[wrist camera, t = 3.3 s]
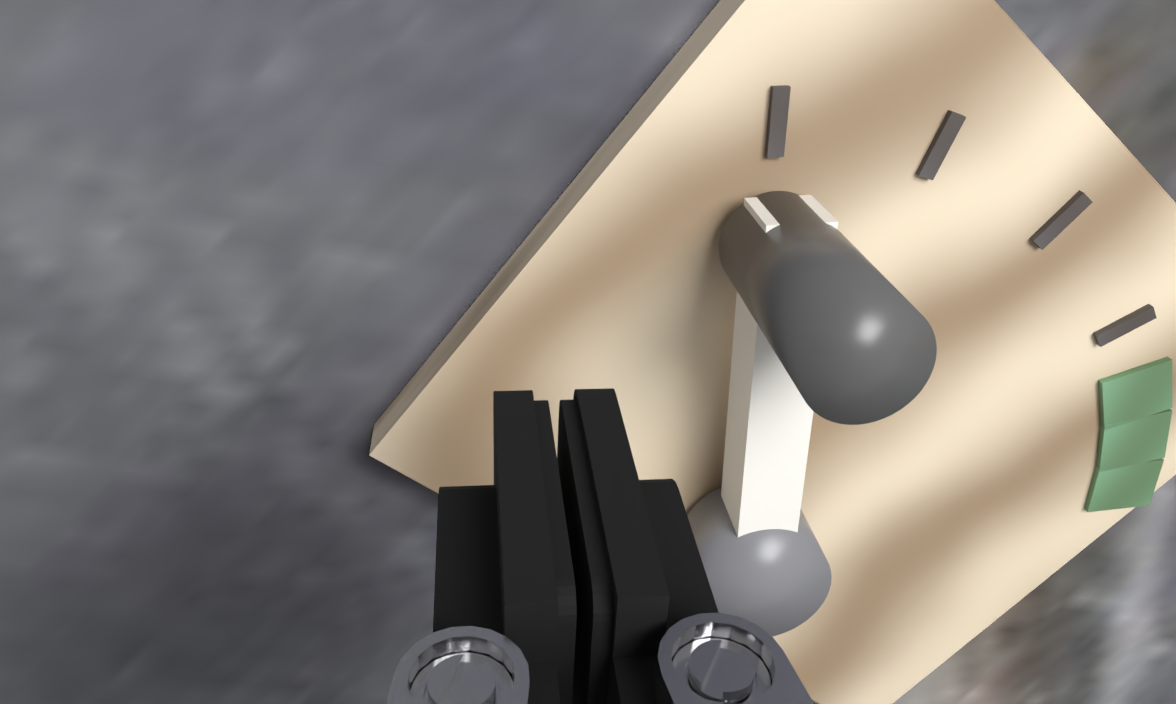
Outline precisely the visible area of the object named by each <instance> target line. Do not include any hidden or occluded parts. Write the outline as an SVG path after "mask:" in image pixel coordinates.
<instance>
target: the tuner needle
mask: <svg viewBox="0 0 1176 704" xmlns="http://www.w3.org/2000/svg"><path fill="white" fill-rule="evenodd" d="M719 257H720V261H721V265H722V267H723V269H724V271H725V272H726V274H727V276H728V277H729V279H730V281H731V282H732V284H733V285H734V287H735V289H736V290H737V296H736V308H735V321H734V334H733V347H732V360H731V373H730V385H729V398H728V411H727V424H726V437H725V450H724V462H723V475H722V487H721V488H718V489H716V490H714V491H713V492H711V493H709V494H708V495H706V496H705V497H704V498H702V499H701V500H700V501H699V502H698V503H697V504H696V505H695V506H694V507H693V508H692V510H691V511H690V512H689V514H688V519H689V522H690V525H691V528H692V532H693V535H694V538H695V541H696V544H697V547H698V550H699V553H700V556H701V559H702V562H703V566H704V569H705V572H706V575H707V578H708V581H709V584H710V587H711V590H712V593H713V596H714V600H715V603H716V606H717V609H718V612H719V613H723V614H729V615H734V616H738V617H741V618H743V619H745V620H748V621H750V622H752V623H755V624H757V625H758V626H759V627H761V628H762V629H763V630H765V631H766V632H767V633H769V634H770V635H771V636H777V635H780V634H783V633H785V632H788V631H790V630H792V629H794V628H796V627H798V626H799V625H801V624H802V623H804V622H805V621H807V620H808V619H809V618H810V617H811V616H813V615H814V614H815V613H816V612H817V610H818V609H819V608H820V607H821V605H822V604H823V603H824V601H825V599H826V597H827V595H828V593H829V590H830V586H831V578H832V576H831V569H830V565H829V563H828V561H827V559H826V557H825V555H824V553H823V551H822V549H821V547H820V545H819V543H818V541H817V539H816V537H815V535H814V533H813V531H812V530H811V528H810V526H809V524H808V522H807V520H806V518H805V516H804V514H803V512H802V510H801V502H802V495H803V487H804V480H805V472H806V464H807V457H808V449H809V442H810V434H811V426H812V419H813V411H814V412H815V413H816V414H818V415H819V416H821V417H822V418H824V419H826V420H829V421H831V422H835V423H839V424H846V425H860V424H867V423H871V422H876V421H878V420H881V419H884V418H886V417H888V416H890V415H893V414H894V413H896V412H898V411H899V410H901V409H902V408H904V407H905V406H906V405H908V404H909V403H910V402H911V401H912V400H913V399H914V398H915V397H916V396H917V395H918V394H919V393H920V392H921V390H922V389H923V387H924V386H925V385H926V383H927V381H928V380H929V378H930V376H931V373H932V371H933V369H934V365H935V361H936V354H937V344H936V338H935V335H934V332H933V329H932V327H931V325H930V324H929V322H928V321H927V320H926V318H925V317H924V316H923V315H922V314H921V313H920V312H919V311H918V310H917V309H916V308H915V307H914V306H913V305H912V304H911V303H910V302H909V301H908V300H907V299H906V298H905V297H904V296H903V295H902V294H901V293H900V292H899V291H898V290H897V289H896V288H895V287H894V286H893V285H892V284H891V283H890V282H889V281H888V280H887V279H886V278H885V277H884V276H883V275H882V274H881V273H880V272H879V271H878V270H877V269H876V268H875V267H874V266H873V265H872V263H871V262H870V261H869V260H868V259H867V258H866V257H865V256H864V255H863V254H862V253H861V252H860V251H859V250H858V249H857V248H856V247H855V246H854V245H853V244H852V243H851V242H850V241H849V240H848V239H847V238H846V237H845V236H844V235H843V234H842V233H841V232H840V231H839V230H838V221H837V220H836V219H835V218H834V217H833V216H832V215H831V214H830V213H829V212H828V211H827V210H826V209H825V208H824V207H823V206H822V205H821V204H820V203H819V202H818V201H817V200H816V199H815V198H814V197H813V196H812V195H798V194H796V193H792V192H788V191H770V192H766V193H762V194H759V195H756V196H754V197H752V198H744V203H743V204H741V205H740V206H739V207H738V208H737V209H736V210H735V211H734V212H733V213H732V214H731V216H730V217H729V218H728V220H727V222H726V223H725V225H724V227H723V230H722V232H721V236H720V240H719Z"/></svg>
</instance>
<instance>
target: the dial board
mask: <svg viewBox="0 0 1176 704" xmlns="http://www.w3.org/2000/svg"><path fill="white" fill-rule="evenodd" d="M770 191H788V192H792V193H796V194H798V195H812V196H813V197H814V198H815V199H816V200H817V201H818V202H819V203H820V204H821V205H822V206H823V207H824V208H825V209H826V210H827V211H828V212H829V213H830V214H831V215H832V216H833V217H834V218H835V219H836V220H837V221H838V230H839V231H840V232H841V233H842V234H843V235H844V236H845V237H846V238H847V239H848V240H849V241H850V242H851V243H852V244H853V245H854V246H855V247H856V248H857V249H858V250H859V251H860V252H861V253H862V254H863V255H864V256H865V257H866V258H867V259H868V260H869V261H870V262H871V263H872V265H873V266H874V267H875V268H876V269H877V270H878V271H879V272H880V273H881V274H882V275H883V276H884V277H885V278H886V279H887V280H888V281H889V282H890V283H891V284H892V285H893V286H894V287H895V288H896V289H897V290H898V291H899V292H900V293H901V294H902V295H903V296H904V297H905V298H906V299H907V300H908V301H909V302H910V303H911V304H912V305H913V306H914V307H915V308H916V309H917V310H918V311H919V312H920V313H921V314H922V315H923V316H924V317H925V318H926V320H927V321H928V322H929V324H930V325H931V327H932V329H933V332H934V335H935V338H936V344H937V354H936V361H935V365H934V369H933V371H932V373H931V376H930V378H929V380H928V381H927V383H926V385H925V386H924V387H923V389H922V390H921V392H920V393H919V394H918V395H917V396H916V397H915V398H914V399H913V400H912V401H911V402H910V403H909V404H908V405H906V406H905V407H904V408H902V409H901V410H899V411H898V412H896V413H894V414H893V415H890V416H888V417H886V418H884V419H881V420H878V421H876V422H871V423H867V424H860V425H846V424H839V423H835V422H831V421H829V420H826V419H824V418H822V417H821V416H819V415H818V414H816V413H815V412H814V411H813V419H812V426H811V434H810V442H809V449H808V457H807V464H806V472H805V480H804V487H803V495H802V502H801V510H802V512H803V514H804V516H805V518H806V520H807V522H808V524H809V526H810V528H811V530H812V531H813V533H814V535H815V537H816V539H817V541H818V543H819V545H820V547H821V549H822V551H823V553H824V555H825V557H826V559H827V561H828V563H829V565H830V569H831V576H832V578H831V586H830V590H829V593H828V595H827V597H826V599H825V601H824V603H823V604H822V605H821V607H820V608H819V609H818V610H817V612H816V613H815V614H814V615H813V616H811V617H810V618H809V619H808V620H807V621H805V622H804V623H802V624H801V625H799V626H798V627H796V628H794V629H792V630H790V631H788V632H785V633H783V634H780V635H777V636H772V637H773V638H774V639H775V640H776V642H777V643H778V644H779V646H780V647H781V648H782V649H783V651H784V652H785V654H786V656H787V658H788V659H789V661H790V663H791V665H792V666H793V668H794V670H795V671H796V673H797V675H798V677H799V678H800V680H801V682H802V683H803V685H804V687H805V689H806V690H807V692H808V694H809V696H810V697H811V699H812V700H814V701H815V702H817V703H819V704H892V703H894V702H895V701H896V700H897V699H899V698H900V697H901V696H902V695H904V694H905V693H906V692H907V691H909V690H910V689H911V688H912V687H913V686H915V685H916V684H917V683H918V682H920V681H921V680H922V679H923V678H925V677H926V676H927V675H928V674H930V673H931V672H932V671H933V670H934V669H936V668H937V667H938V666H939V665H941V664H942V663H943V662H944V661H946V660H947V659H948V658H949V657H951V656H952V655H953V654H954V653H956V652H957V651H958V650H959V649H960V648H962V647H963V646H964V645H965V644H967V643H968V642H969V641H970V640H972V639H973V638H974V637H975V636H977V635H978V634H979V633H980V632H981V631H983V630H984V629H985V628H986V627H988V626H989V625H990V624H991V623H993V622H994V621H995V620H996V619H998V618H999V617H1000V616H1001V615H1002V614H1004V613H1005V612H1006V611H1007V610H1009V609H1010V608H1011V607H1012V606H1014V605H1015V604H1016V603H1017V602H1019V601H1020V600H1021V599H1022V598H1023V597H1025V596H1026V595H1027V594H1028V593H1030V592H1031V591H1032V590H1033V589H1035V588H1036V587H1037V586H1038V585H1040V584H1041V583H1042V582H1043V581H1045V580H1046V579H1047V578H1048V577H1049V576H1051V575H1052V574H1053V573H1054V572H1056V571H1057V570H1058V569H1059V568H1061V567H1062V566H1063V565H1064V564H1066V563H1067V562H1068V561H1069V560H1070V559H1072V558H1073V557H1074V556H1075V555H1077V554H1078V553H1079V552H1080V551H1082V550H1083V549H1084V548H1085V547H1087V546H1088V545H1089V544H1090V543H1091V542H1093V541H1094V540H1095V539H1096V538H1098V537H1099V536H1100V535H1101V534H1103V533H1104V532H1105V531H1106V530H1108V529H1109V528H1110V527H1111V526H1113V525H1114V524H1115V523H1116V522H1117V521H1119V520H1120V519H1121V518H1122V517H1124V516H1125V515H1126V514H1127V513H1129V512H1130V511H1131V510H1132V509H1134V508H1135V507H1139V506H1148V505H1150V502H1151V499H1152V496H1153V493H1154V492H1155V491H1156V490H1157V489H1158V488H1159V487H1161V486H1162V485H1163V484H1164V483H1166V482H1167V481H1168V480H1169V479H1171V478H1172V477H1173V476H1174V475H1176V203H1175V202H1174V201H1173V199H1172V198H1171V197H1170V196H1169V195H1168V194H1167V193H1166V192H1165V190H1164V189H1163V188H1162V187H1161V186H1160V185H1159V184H1158V183H1157V182H1156V180H1155V179H1154V178H1153V177H1152V176H1151V175H1150V174H1149V173H1148V171H1147V170H1146V169H1145V168H1144V167H1143V166H1142V165H1141V164H1140V163H1139V161H1138V160H1137V159H1136V158H1135V157H1134V156H1133V155H1132V154H1131V152H1130V151H1129V150H1128V149H1127V148H1126V147H1125V146H1124V145H1123V144H1122V142H1121V141H1120V140H1119V139H1118V138H1117V137H1116V136H1115V135H1114V133H1113V132H1112V131H1111V130H1110V129H1109V128H1108V127H1107V126H1106V125H1105V123H1104V122H1103V121H1102V120H1101V119H1100V118H1099V117H1098V116H1097V114H1096V113H1095V112H1094V111H1093V110H1092V109H1091V108H1090V107H1089V106H1088V104H1087V103H1086V102H1085V101H1084V100H1083V99H1082V98H1081V97H1080V96H1079V94H1078V93H1077V92H1076V91H1075V90H1074V89H1073V88H1072V87H1071V85H1070V84H1069V83H1068V82H1067V81H1066V80H1065V79H1064V78H1063V77H1062V75H1061V74H1060V73H1059V72H1058V71H1057V70H1056V69H1055V68H1054V66H1053V65H1052V64H1051V63H1050V62H1049V61H1048V60H1047V59H1046V58H1045V56H1044V55H1043V54H1042V53H1041V52H1040V51H1039V50H1038V49H1037V47H1036V46H1035V45H1034V44H1033V43H1032V42H1031V41H1030V40H1029V39H1028V37H1027V36H1026V35H1025V34H1024V33H1023V32H1022V31H1021V30H1020V28H1019V27H1018V26H1017V25H1016V24H1015V23H1014V22H1013V21H1012V20H1011V18H1010V17H1009V16H1008V15H1007V14H1006V13H1005V12H1004V11H1003V9H1002V8H1001V7H1000V6H999V5H998V4H997V3H996V2H995V1H994V0H720V1H719V2H718V4H717V5H716V6H715V7H714V9H713V10H712V11H711V12H710V13H709V15H708V16H707V17H706V18H705V20H704V21H703V22H702V23H701V24H700V26H699V27H698V28H697V29H696V31H695V32H694V33H693V34H692V35H691V37H690V38H689V39H688V40H687V42H686V43H685V44H684V45H683V47H682V48H681V49H680V50H679V51H678V53H677V54H676V55H675V56H674V58H673V59H672V60H671V61H670V62H669V64H668V65H667V66H666V67H665V69H664V70H663V71H662V72H661V73H660V75H659V76H658V77H657V78H656V80H655V81H654V82H653V83H652V84H651V86H650V87H649V88H648V89H647V91H646V92H645V93H644V94H643V96H642V97H641V98H640V99H639V100H638V102H637V103H636V104H635V105H634V107H633V108H632V109H631V110H630V111H629V113H628V114H627V115H626V116H625V118H624V119H623V120H622V121H621V122H620V124H619V125H618V126H617V127H616V129H615V130H614V131H613V132H612V134H611V135H610V136H609V137H608V138H607V140H606V141H605V142H604V143H603V145H602V146H601V147H600V148H599V149H598V151H597V152H596V153H595V154H594V156H593V157H592V158H591V159H590V160H589V162H588V163H587V164H586V165H585V167H584V168H583V169H582V170H581V172H580V173H579V174H578V175H577V176H576V178H575V179H574V180H573V181H572V183H571V184H570V185H569V186H568V187H567V189H566V190H565V191H564V192H563V194H562V195H561V196H560V197H559V198H558V200H557V201H556V202H555V203H554V205H553V206H552V207H551V208H550V209H549V211H548V212H547V213H546V214H545V216H544V217H543V218H542V219H541V221H540V222H539V223H538V224H537V225H536V227H535V228H534V229H533V230H532V232H531V233H530V234H529V235H528V236H527V238H526V239H525V240H524V241H523V243H522V244H521V245H520V246H519V247H518V249H517V250H516V251H515V252H514V254H513V255H512V256H511V257H510V259H509V260H508V261H507V262H506V263H505V265H504V266H503V267H502V268H501V270H500V271H499V272H498V273H497V274H496V276H495V277H494V278H493V279H492V281H491V282H490V283H489V284H488V285H487V287H486V288H485V289H484V290H483V292H482V293H481V294H480V295H479V296H478V298H477V299H476V300H475V301H474V303H473V304H472V305H471V306H470V308H469V309H468V310H467V311H466V312H465V314H464V315H463V316H462V317H461V319H460V320H459V321H458V322H457V323H456V325H455V326H454V327H453V328H452V330H451V331H450V332H449V333H448V334H447V336H446V337H445V338H444V339H443V341H442V342H441V343H440V344H439V346H438V347H437V348H436V349H435V350H434V352H433V353H432V354H431V355H430V357H429V358H428V359H427V360H426V361H425V363H424V364H423V365H422V366H421V368H420V369H419V370H418V371H417V372H416V374H415V375H414V376H413V377H412V379H411V380H410V381H409V382H408V383H407V385H406V386H405V387H404V388H403V390H402V391H401V392H400V393H399V395H398V396H397V397H396V398H395V399H394V401H393V402H392V403H391V404H390V406H389V407H388V408H387V409H386V410H385V412H384V413H383V414H382V415H381V417H380V418H379V419H378V420H377V421H376V423H375V424H374V429H373V435H372V441H371V447H370V453H369V456H371V457H373V458H375V459H377V460H379V461H380V462H382V463H384V464H386V465H388V466H389V467H391V468H393V469H395V470H397V471H398V472H400V473H402V474H404V475H406V476H408V477H409V478H411V479H413V480H415V481H417V482H418V483H420V484H422V485H424V486H426V487H427V488H429V489H431V490H433V491H435V492H437V493H438V494H439V487H449V486H478V485H494V444H493V392H494V391H517V390H532V391H533V396H534V400H548V402H549V408H550V414H551V421H552V428H553V435H554V442H555V449H556V455H557V446H558V420H559V403H560V400H573V396H574V391H575V389H607V388H613V389H614V390H615V392H616V396H617V399H618V403H619V407H620V411H621V414H622V418H623V422H624V425H625V429H626V433H627V437H628V440H629V444H630V448H631V452H632V455H633V459H634V463H635V467H636V470H637V474H638V478H639V480H649V479H673V480H674V481H676V484H677V486H678V488H679V491H680V494H681V498H682V501H683V504H684V507H685V510H686V513H687V516H688V514H689V512H690V511H691V510H692V508H693V507H694V506H695V505H696V504H697V503H698V502H699V501H700V500H701V499H702V498H704V497H705V496H706V495H708V494H709V493H711V492H713V491H714V490H716V489H718V488H721V487H722V475H723V462H724V450H725V437H726V424H727V411H728V398H729V385H730V373H731V360H732V347H733V334H734V321H735V308H736V296H737V290H736V289H735V287H734V285H733V284H732V282H731V281H730V279H729V277H728V276H727V274H726V272H725V271H724V269H723V267H722V265H721V261H720V257H719V240H720V236H721V232H722V230H723V227H724V225H725V223H726V222H727V220H728V218H729V217H730V216H731V214H732V213H733V212H734V211H735V210H736V209H737V208H738V207H739V206H740V205H741V204H743V203H744V198H752V197H754V196H756V195H759V194H762V193H766V192H770Z"/></svg>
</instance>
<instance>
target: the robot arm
mask: <svg viewBox="0 0 1176 704" xmlns="http://www.w3.org/2000/svg"><path fill="white" fill-rule="evenodd" d="M493 444H494V485H478V486H449V487H439V495H438V520H437V545H436V571H435V597H434V622H433V633H431V634H429V635H427V636H426V637H424V638H422V639H421V640H419V641H417V642H416V643H414V644H413V645H412V646H411V647H410V649H409V650H408V651H407V652H406V653H405V654H404V655H403V656H402V657H401V659H400V661H399V663H398V665H397V667H396V670H395V672H394V674H393V678H392V681H391V685H390V689H389V693H388V696H387V700H386V704H815V703H814V702H813V701H812V699H811V697H810V696H809V694H808V692H807V690H806V689H805V687H804V685H803V683H802V682H801V680H800V678H799V677H798V675H797V673H796V671H795V670H794V668H793V666H792V665H791V663H790V661H789V659H788V658H787V656H786V654H785V652H784V651H783V649H782V648H781V647H780V646H779V644H778V643H777V642H776V640H775V639H774V638H773V637H772V636H771V635H770V634H769V633H767V632H766V631H765V630H763V629H762V628H761V627H759V626H758V625H757V624H755V623H752V622H750V621H748V620H745V619H743V618H741V617H738V616H734V615H729V614H723V613H719V612H718V609H717V606H716V603H715V600H714V596H713V593H712V590H711V587H710V584H709V581H708V578H707V575H706V572H705V569H704V566H703V562H702V559H701V556H700V553H699V550H698V547H697V544H696V541H695V538H694V535H693V532H692V528H691V525H690V522H689V519H688V516H687V513H686V510H685V507H684V504H683V501H682V498H681V494H680V491H679V488H678V486H677V484H676V481H674V480H673V479H649V480H639V478H638V474H637V470H636V467H635V463H634V459H633V455H632V452H631V448H630V444H629V440H628V437H627V433H626V429H625V425H624V422H623V418H622V414H621V411H620V407H619V403H618V399H617V396H616V392H615V390H614V389H613V388H607V389H575V391H574V396H573V400H560V403H559V420H558V446H557V455H556V449H555V442H554V435H553V428H552V421H551V414H550V408H549V402H548V400H534V396H533V391H532V390H517V391H494V392H493Z"/></svg>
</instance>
